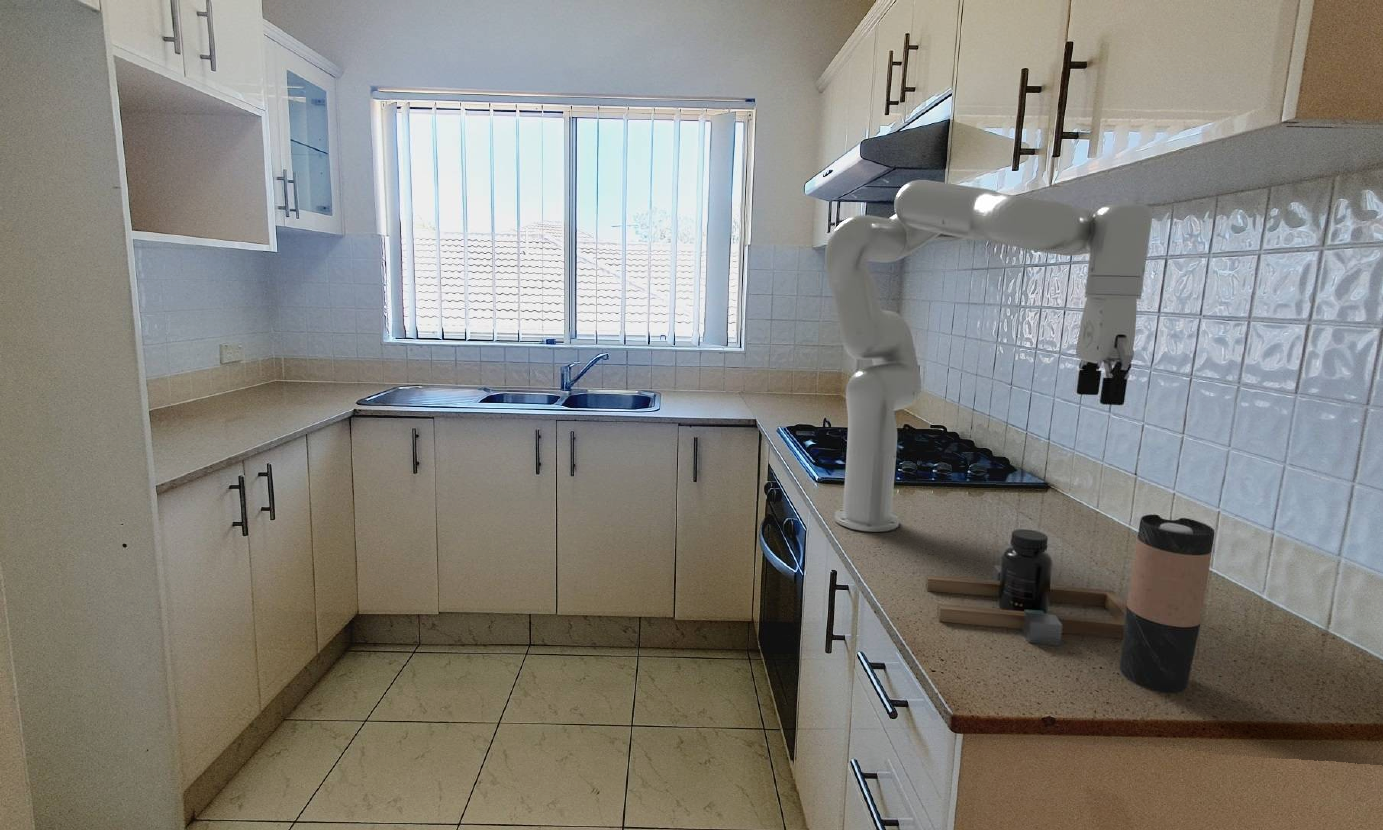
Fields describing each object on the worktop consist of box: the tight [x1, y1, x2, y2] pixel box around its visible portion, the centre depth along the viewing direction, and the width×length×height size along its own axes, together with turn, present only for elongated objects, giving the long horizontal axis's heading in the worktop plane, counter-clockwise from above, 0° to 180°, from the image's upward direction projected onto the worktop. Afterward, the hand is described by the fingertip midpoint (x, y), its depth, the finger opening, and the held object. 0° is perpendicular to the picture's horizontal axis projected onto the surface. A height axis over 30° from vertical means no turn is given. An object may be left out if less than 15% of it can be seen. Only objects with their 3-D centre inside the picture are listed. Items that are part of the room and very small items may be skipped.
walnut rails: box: [925, 574, 1127, 639], centre depth 107 cm, size 12×28×2 cm, turn 81°
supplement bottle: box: [997, 528, 1054, 614], centre depth 106 cm, size 7×7×12 cm
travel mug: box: [1119, 513, 1215, 694], centre depth 88 cm, size 8×8×20 cm
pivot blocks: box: [991, 564, 1063, 647], centre depth 107 cm, size 20×4×3 cm, turn 171°
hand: (1098, 399), depth 113 cm, fingers open, 9 cm apart
